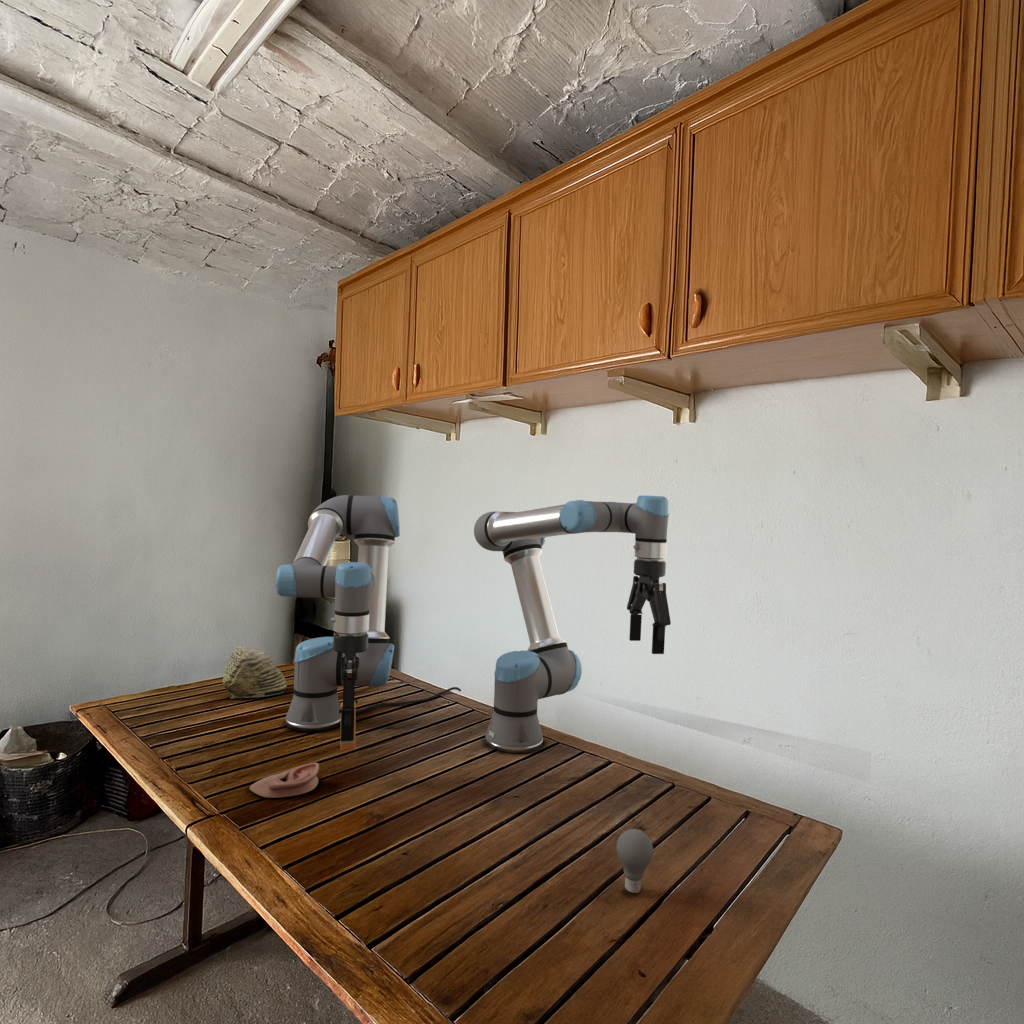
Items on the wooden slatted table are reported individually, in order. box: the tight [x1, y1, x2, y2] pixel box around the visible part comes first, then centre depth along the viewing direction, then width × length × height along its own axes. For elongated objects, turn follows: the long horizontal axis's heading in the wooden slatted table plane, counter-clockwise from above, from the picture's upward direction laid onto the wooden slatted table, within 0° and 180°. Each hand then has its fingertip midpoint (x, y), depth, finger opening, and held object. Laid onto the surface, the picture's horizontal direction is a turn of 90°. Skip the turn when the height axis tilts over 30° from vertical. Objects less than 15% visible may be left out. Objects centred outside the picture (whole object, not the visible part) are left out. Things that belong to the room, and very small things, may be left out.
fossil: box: [222, 646, 288, 699], centre depth 198 cm, size 9×18×15 cm, turn 132°
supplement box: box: [339, 701, 357, 751], centre depth 141 cm, size 3×3×10 cm
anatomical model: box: [249, 762, 320, 799], centre depth 137 cm, size 13×4×12 cm
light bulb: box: [615, 828, 654, 894], centre depth 106 cm, size 6×6×10 cm
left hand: (347, 736), depth 141 cm, fingers closed on supplement box, 3 cm apart
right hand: (645, 646), depth 153 cm, fingers open, 13 cm apart
